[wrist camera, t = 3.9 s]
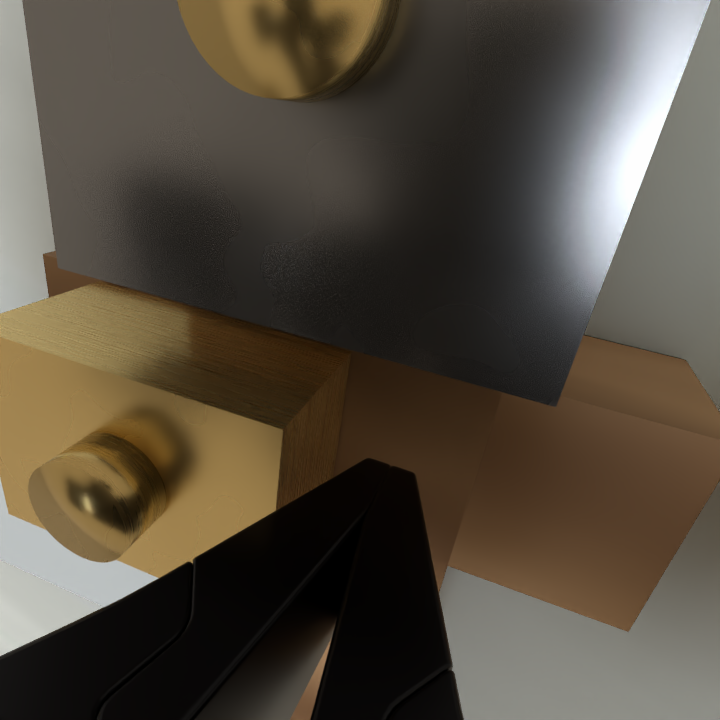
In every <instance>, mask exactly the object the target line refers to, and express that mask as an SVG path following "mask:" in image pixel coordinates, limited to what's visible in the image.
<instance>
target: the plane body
mask: <svg viewBox="0 0 720 720" xmlns="http://www.w3.org/2000/svg"><path fill="white" fill-rule="evenodd" d="M43 259H44V266H45V273H46V280H47V287H48V293H49V298H50V297H53V296H56V295H59V294H62V293H65V292H68V291H71V290H74V289H77V288H80V287H83V286H86V285H89V284H92V283H96V282H99V281H101V282H105V283H109V284H112V285H116V286H119V287H123V288H126V289H130V290H133V291H137V292H141V293H144V294H148V295H151V296H155V297H158V298H162V299H166V300H169V301H173V302H176V303H180V304H183V305H187V306H191V307H194V308H198V309H201V310H205V311H208V312H212V313H215V314H219V315H223V316H226V317H230V318H233V319H237V320H240V321H244V322H248V323H251V324H255V325H258V326H262V327H265V328H269V329H273V330H276V331H280V332H283V333H287V334H290V335H294V336H298V337H301V338H305V339H308V340H312V341H315V342H319V343H322V344H326V345H330V346H333V347H337V348H340V349H344V350H347V351H351V352H352V354H351V360H350V367H349V373H348V380H347V386H346V393H345V400H344V406H343V413H342V419H341V426H340V432H339V439H338V445H337V452H336V458H335V465H334V471H333V477H334V476H336V475H338V474H340V473H341V472H343V471H345V470H346V469H348V468H350V467H352V466H353V465H355V464H357V463H359V462H360V461H362V460H364V459H366V458H372V459H375V460H378V461H381V462H384V463H387V464H390V466H396V467H399V468H402V469H405V470H408V471H411V472H414V473H415V475H416V477H417V482H418V488H419V493H420V498H421V503H422V508H423V514H424V519H425V524H426V529H427V534H428V540H429V545H430V550H431V555H432V560H433V566H434V571H435V576H436V581H437V586H438V591H440V588H441V585H442V581H443V578H444V575H445V572H446V569H447V566H450V567H453V568H455V569H458V570H461V571H463V572H466V573H469V574H472V575H474V576H477V577H480V578H483V579H485V580H488V581H491V582H494V583H496V584H499V585H502V586H504V587H507V588H510V589H513V590H515V591H518V592H521V593H524V594H526V595H529V596H532V597H535V598H537V599H540V600H543V601H546V602H548V603H551V604H554V605H556V606H559V607H562V608H565V609H567V610H570V611H573V612H576V613H578V614H581V615H584V616H587V617H589V618H592V619H595V620H597V621H600V622H603V623H606V624H608V625H611V626H614V627H617V628H619V629H622V630H625V631H628V632H629V630H630V628H631V627H632V625H633V623H634V622H635V620H636V618H637V617H638V615H639V613H640V612H641V610H642V608H643V607H644V605H645V603H646V602H647V600H648V598H649V597H650V595H651V593H652V592H653V590H654V588H655V587H656V585H657V583H658V582H659V580H660V578H661V577H662V575H663V573H664V572H665V570H666V568H667V567H668V565H669V563H670V562H671V560H672V558H673V557H674V555H675V554H676V552H677V550H678V549H679V547H680V545H681V544H682V542H683V540H684V539H685V537H686V535H687V534H688V532H689V530H690V529H691V527H692V525H693V524H694V522H695V520H696V519H697V517H698V515H699V514H700V512H701V510H702V509H703V507H704V505H705V504H706V502H707V500H708V499H709V497H710V495H711V494H712V492H713V490H714V489H715V487H716V485H717V484H718V482H719V481H720V413H719V411H718V409H717V408H716V406H715V405H714V403H713V402H712V400H711V399H710V397H709V395H708V394H707V392H706V391H705V389H704V388H703V386H702V385H701V383H700V381H699V380H698V378H697V377H696V375H695V374H694V372H693V371H692V369H691V367H690V366H689V364H688V363H687V361H686V360H683V359H679V358H675V357H671V356H666V355H662V354H658V353H654V352H650V351H646V350H642V349H638V348H634V347H630V346H626V345H622V344H618V343H613V342H609V341H605V340H601V339H597V338H593V337H589V336H585V335H583V337H582V340H581V343H580V345H579V348H578V351H577V353H576V356H575V358H574V361H573V364H572V366H571V369H570V372H569V374H568V377H567V379H566V382H565V385H564V387H563V390H562V393H561V395H560V398H559V401H558V403H557V406H556V407H553V406H549V405H546V404H542V403H539V402H535V401H532V400H528V399H524V398H521V397H517V396H514V395H510V394H507V393H503V392H499V391H496V390H492V389H489V388H485V387H481V386H478V385H474V384H471V383H467V382H464V381H460V380H456V379H453V378H449V377H446V376H442V375H439V374H435V373H431V372H428V371H424V370H421V369H417V368H414V367H410V366H406V365H403V364H399V363H396V362H392V361H389V360H385V359H381V358H378V357H374V356H371V355H367V354H363V353H360V352H356V351H353V350H349V349H346V348H342V347H338V346H335V345H331V344H328V343H324V342H321V341H317V340H313V339H310V338H306V337H303V336H299V335H296V334H292V333H288V332H285V331H281V330H278V329H274V328H271V327H267V326H263V325H260V324H256V323H253V322H249V321H246V320H242V319H238V318H235V317H231V316H228V315H224V314H220V313H217V312H213V311H210V310H206V309H203V308H199V307H195V306H192V305H188V304H185V303H181V302H178V301H174V300H170V299H167V298H163V297H160V296H156V295H153V294H149V293H145V292H142V291H138V290H135V289H131V288H128V287H124V286H120V285H117V284H113V283H110V282H106V281H103V280H99V279H95V278H92V277H88V276H85V275H81V274H77V273H74V272H70V271H67V270H63V269H60V268H58V264H57V257H56V251H54V252H50V253H45V254H43ZM331 639H332V638H331ZM330 643H331V640H330V642H329V644H328V646H327V648H326V650H325V652H324V654H323V656H322V658H321V660H320V662H319V663H318V665H317V667H316V669H315V671H314V673H313V675H312V677H311V679H310V681H309V683H308V685H307V687H306V689H305V691H304V693H303V695H302V697H301V699H300V701H299V703H298V705H297V707H296V708H295V710H294V712H293V714H292V716H291V718H290V720H310V718H311V715H312V711H313V707H314V703H315V700H316V696H317V692H318V688H319V684H320V681H321V677H322V673H323V669H324V665H325V662H326V658H327V654H328V650H329V647H330Z"/></svg>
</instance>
